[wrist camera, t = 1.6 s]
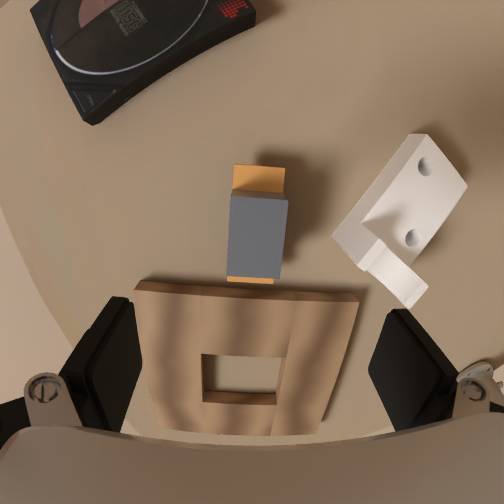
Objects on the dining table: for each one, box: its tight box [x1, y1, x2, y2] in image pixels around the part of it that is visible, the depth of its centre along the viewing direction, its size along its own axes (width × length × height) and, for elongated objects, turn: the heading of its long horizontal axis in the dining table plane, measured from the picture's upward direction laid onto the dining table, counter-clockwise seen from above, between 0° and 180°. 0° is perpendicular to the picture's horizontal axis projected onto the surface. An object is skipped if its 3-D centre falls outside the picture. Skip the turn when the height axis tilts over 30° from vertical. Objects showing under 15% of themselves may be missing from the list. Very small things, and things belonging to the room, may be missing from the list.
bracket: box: [331, 134, 468, 309], centre depth 24 cm, size 13×7×8 cm, turn 144°
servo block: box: [227, 164, 289, 284], centre depth 24 cm, size 4×10×6 cm, turn 176°
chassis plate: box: [134, 281, 360, 436], centre depth 33 cm, size 22×22×2 cm
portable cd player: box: [30, 0, 256, 126], centre depth 18 cm, size 16×17×4 cm
